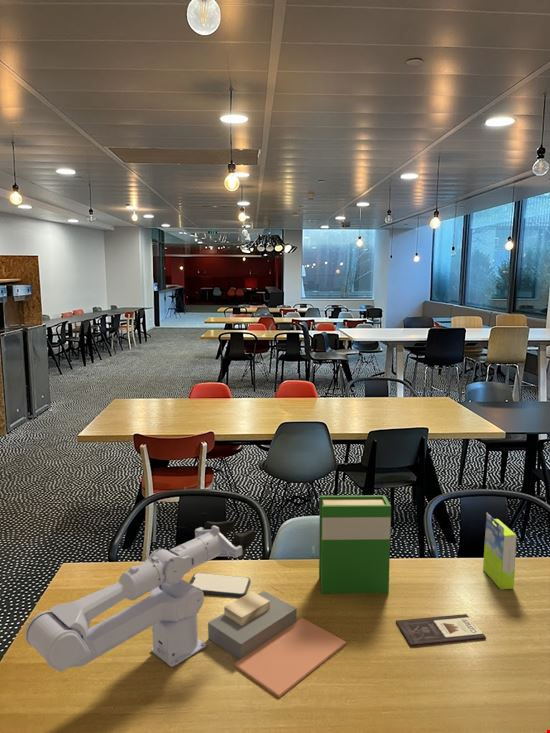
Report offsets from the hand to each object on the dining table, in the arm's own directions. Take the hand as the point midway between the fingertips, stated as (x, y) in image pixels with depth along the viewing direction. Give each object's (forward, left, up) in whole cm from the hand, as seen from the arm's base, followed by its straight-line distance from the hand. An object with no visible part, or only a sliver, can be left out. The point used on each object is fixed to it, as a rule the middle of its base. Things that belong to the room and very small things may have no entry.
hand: (243, 529), depth 130 cm
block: (-4, -8, -21) cm, 23 cm away
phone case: (+3, +13, -22) cm, 25 cm away
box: (+58, -40, -21) cm, 74 cm away
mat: (-4, -20, -21) cm, 29 cm away
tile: (-4, -6, -16) cm, 18 cm away
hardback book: (+28, -13, -21) cm, 37 cm away
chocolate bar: (+26, -39, -22) cm, 52 cm away
